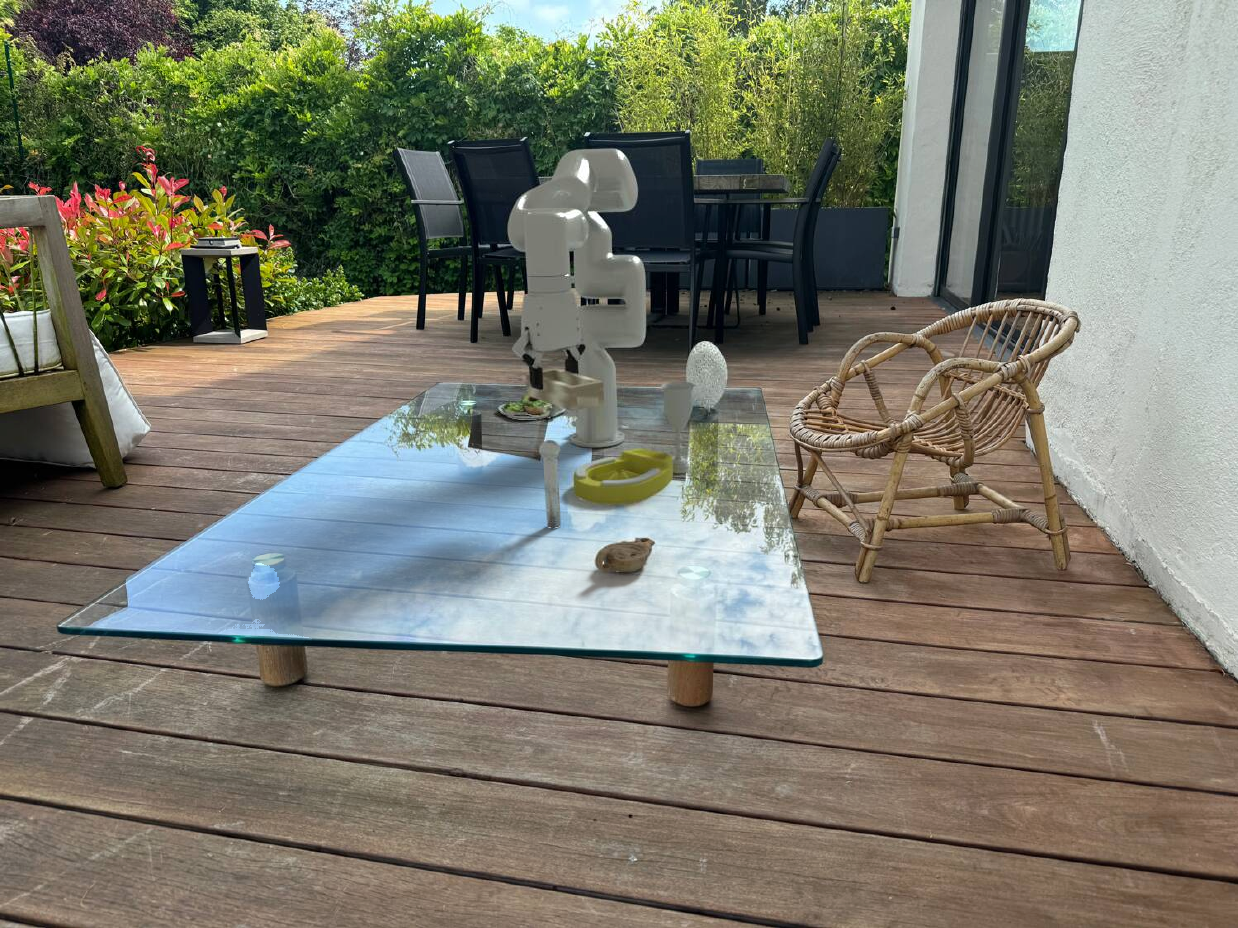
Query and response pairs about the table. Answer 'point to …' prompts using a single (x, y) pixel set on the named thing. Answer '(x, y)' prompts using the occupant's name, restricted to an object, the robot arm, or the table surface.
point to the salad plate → (531, 408)
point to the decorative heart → (706, 374)
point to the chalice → (678, 416)
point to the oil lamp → (624, 555)
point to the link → (567, 390)
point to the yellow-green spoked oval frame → (624, 477)
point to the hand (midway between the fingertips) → (554, 384)
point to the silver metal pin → (551, 481)
